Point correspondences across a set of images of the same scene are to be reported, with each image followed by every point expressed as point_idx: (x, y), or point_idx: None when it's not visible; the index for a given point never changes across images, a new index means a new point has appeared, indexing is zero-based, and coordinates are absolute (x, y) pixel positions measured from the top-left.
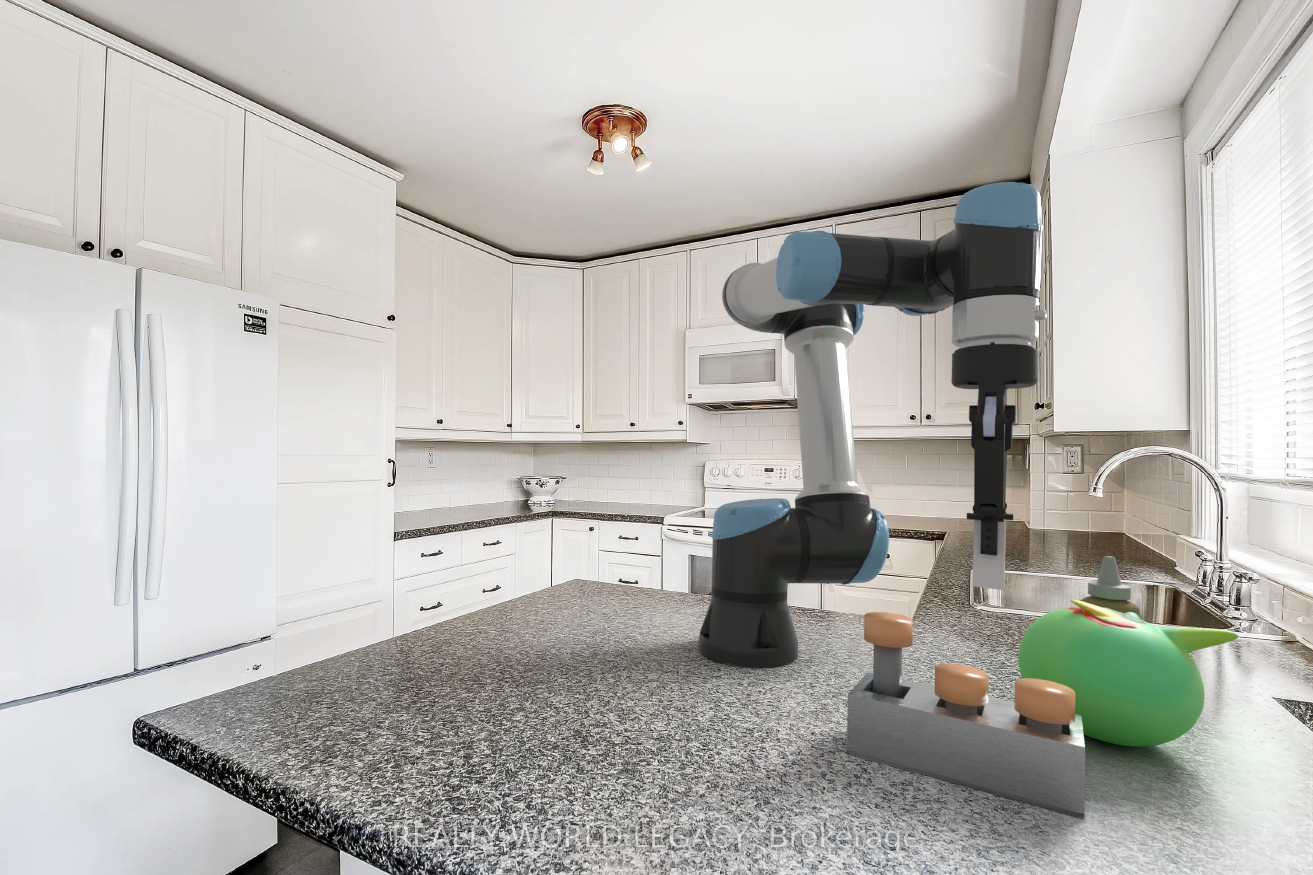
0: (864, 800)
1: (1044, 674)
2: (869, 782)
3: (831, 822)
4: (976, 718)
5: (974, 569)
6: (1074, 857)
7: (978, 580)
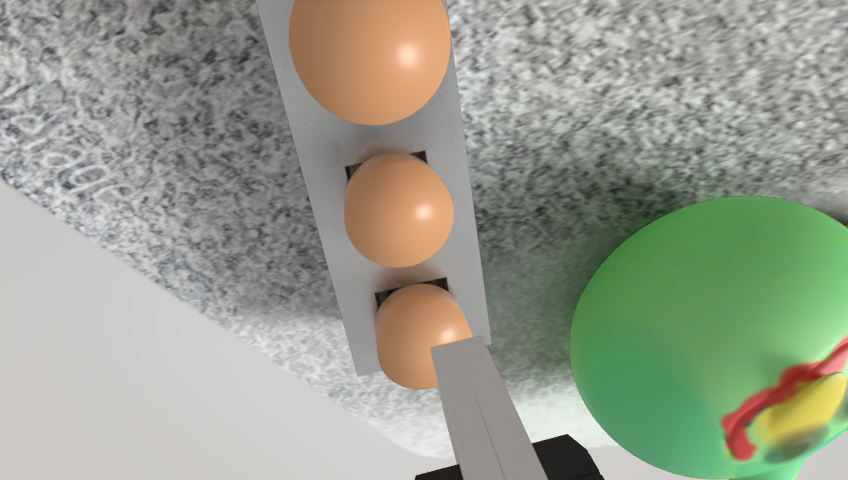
0: (147, 103)
1: (631, 275)
2: (209, 84)
3: (39, 93)
4: (343, 239)
5: (441, 391)
6: (253, 333)
7: (436, 376)
